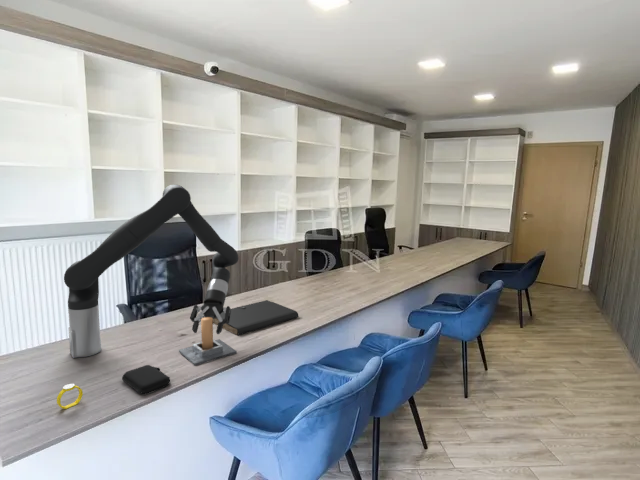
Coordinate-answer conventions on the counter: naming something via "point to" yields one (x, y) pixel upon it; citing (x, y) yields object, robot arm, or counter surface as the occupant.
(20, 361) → the counter surface
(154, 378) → the carrying case or bag
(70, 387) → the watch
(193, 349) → the mounting plate
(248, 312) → the black book
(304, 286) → the counter surface
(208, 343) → the post
